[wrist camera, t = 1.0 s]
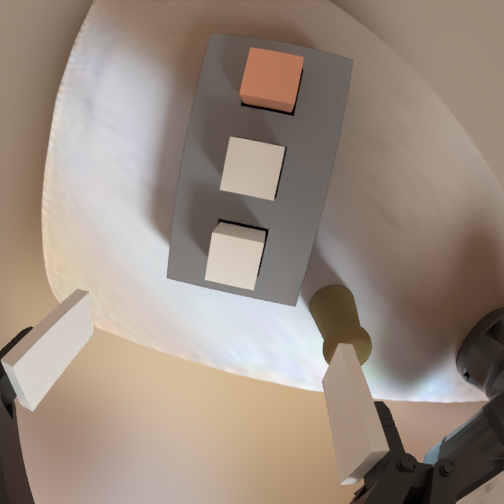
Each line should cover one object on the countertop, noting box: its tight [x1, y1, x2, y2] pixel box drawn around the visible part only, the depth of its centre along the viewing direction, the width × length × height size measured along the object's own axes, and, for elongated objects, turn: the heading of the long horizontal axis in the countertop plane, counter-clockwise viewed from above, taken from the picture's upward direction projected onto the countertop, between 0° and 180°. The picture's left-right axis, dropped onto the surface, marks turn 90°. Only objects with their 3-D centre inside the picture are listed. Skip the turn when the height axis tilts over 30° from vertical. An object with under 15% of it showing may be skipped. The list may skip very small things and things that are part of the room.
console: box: [167, 33, 353, 306], centre depth 29 cm, size 14×26×6 cm, turn 169°
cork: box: [310, 285, 372, 366], centre depth 31 cm, size 6×6×11 cm
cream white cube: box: [220, 137, 285, 201], centre depth 24 cm, size 4×4×4 cm
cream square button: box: [205, 222, 265, 290], centre depth 27 cm, size 4×4×4 cm
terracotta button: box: [239, 47, 304, 112], centre depth 22 cm, size 4×4×4 cm
